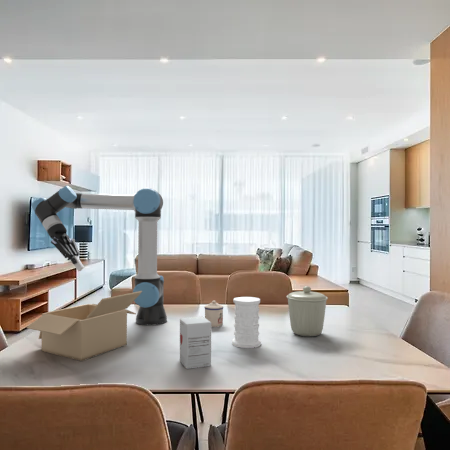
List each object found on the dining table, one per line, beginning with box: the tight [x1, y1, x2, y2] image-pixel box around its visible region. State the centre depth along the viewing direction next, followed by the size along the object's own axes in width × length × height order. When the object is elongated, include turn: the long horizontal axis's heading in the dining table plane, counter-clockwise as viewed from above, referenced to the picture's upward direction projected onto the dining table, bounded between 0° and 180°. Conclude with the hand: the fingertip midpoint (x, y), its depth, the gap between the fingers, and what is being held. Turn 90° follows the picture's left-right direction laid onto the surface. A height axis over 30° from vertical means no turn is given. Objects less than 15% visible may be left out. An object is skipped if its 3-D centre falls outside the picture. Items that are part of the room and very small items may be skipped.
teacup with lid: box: [204, 300, 224, 328], centre depth 186 cm, size 12×9×12 cm
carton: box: [26, 303, 137, 362], centre depth 149 cm, size 26×37×14 cm
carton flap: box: [87, 291, 142, 318], centre depth 141 cm, size 1×20×10 cm
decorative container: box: [231, 296, 262, 349], centre depth 155 cm, size 12×12×18 cm
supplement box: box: [179, 316, 212, 370], centre depth 132 cm, size 9×9×15 cm
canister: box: [286, 285, 329, 337], centre depth 170 cm, size 18×18×21 cm
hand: (81, 269), depth 167 cm, fingers closed
